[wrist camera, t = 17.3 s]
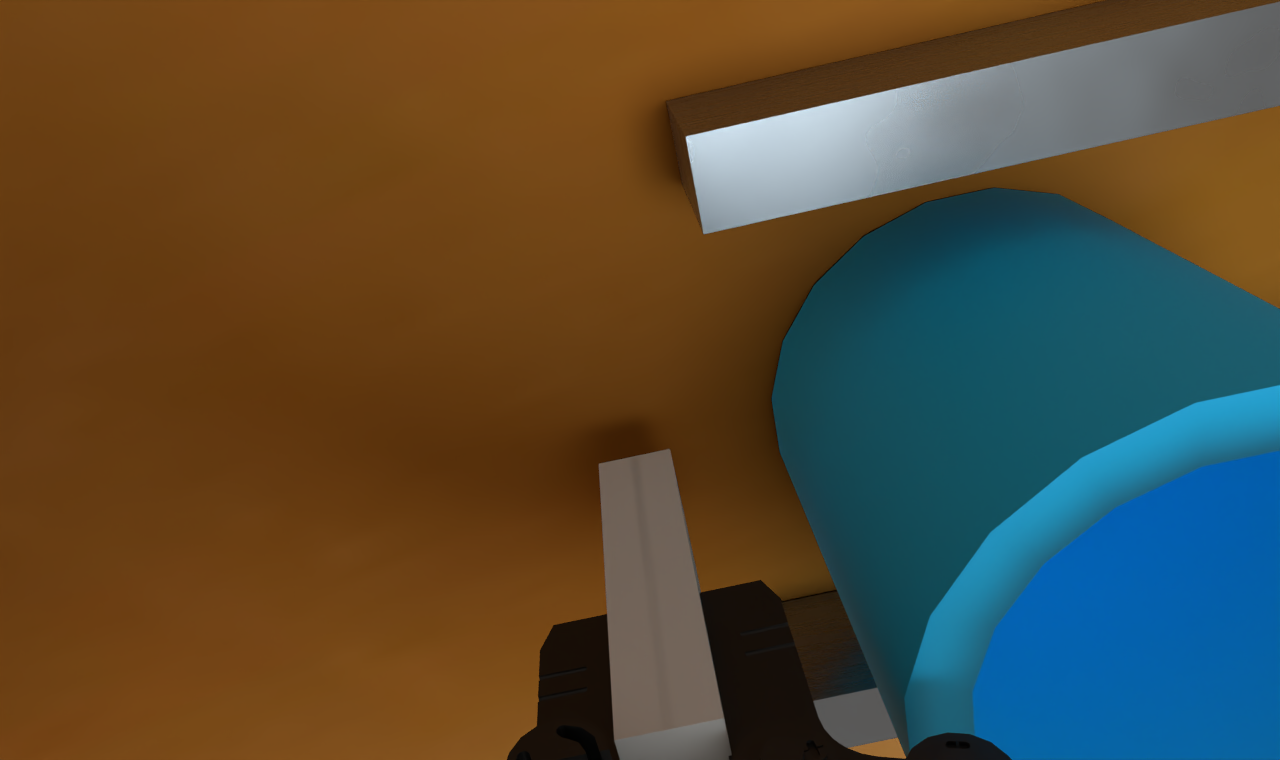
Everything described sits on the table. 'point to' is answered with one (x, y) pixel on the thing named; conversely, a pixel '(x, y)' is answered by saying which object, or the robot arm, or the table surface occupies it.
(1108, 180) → the table surface
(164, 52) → the table surface
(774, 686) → the robot arm
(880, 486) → the mug
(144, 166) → the table surface
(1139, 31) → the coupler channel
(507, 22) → the table surface
